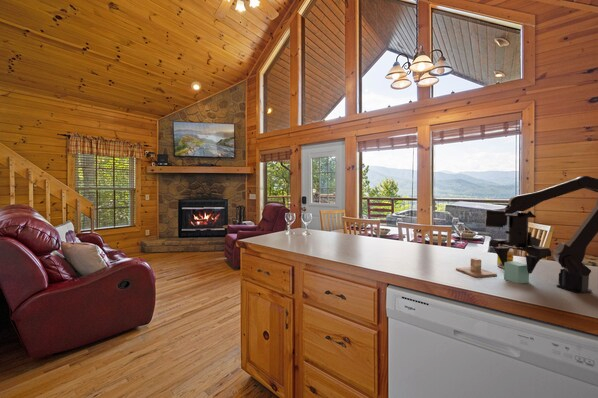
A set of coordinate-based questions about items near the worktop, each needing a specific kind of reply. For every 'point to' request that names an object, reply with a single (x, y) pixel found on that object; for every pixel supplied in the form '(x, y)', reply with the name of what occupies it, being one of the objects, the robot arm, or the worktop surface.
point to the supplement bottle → (509, 258)
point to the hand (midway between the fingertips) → (516, 269)
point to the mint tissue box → (516, 272)
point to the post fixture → (476, 269)
